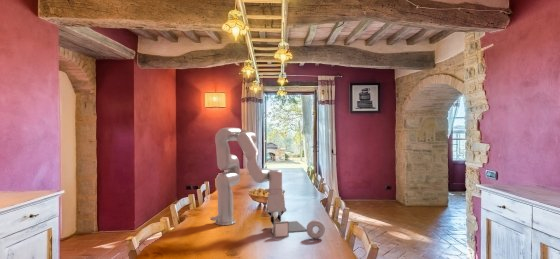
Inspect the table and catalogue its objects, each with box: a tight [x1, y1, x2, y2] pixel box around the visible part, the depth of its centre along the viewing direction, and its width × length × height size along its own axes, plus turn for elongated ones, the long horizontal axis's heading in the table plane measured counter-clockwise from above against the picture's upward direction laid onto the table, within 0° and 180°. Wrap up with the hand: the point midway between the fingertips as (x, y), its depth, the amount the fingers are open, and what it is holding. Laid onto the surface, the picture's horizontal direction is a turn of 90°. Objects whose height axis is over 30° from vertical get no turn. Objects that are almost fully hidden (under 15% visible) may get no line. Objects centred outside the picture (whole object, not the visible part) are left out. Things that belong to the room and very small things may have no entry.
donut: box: [305, 219, 326, 240], centre depth 179 cm, size 10×4×10 cm, turn 91°
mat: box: [288, 220, 307, 233], centre depth 201 cm, size 12×20×1 cm, turn 14°
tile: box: [273, 220, 290, 238], centre depth 183 cm, size 8×2×8 cm, turn 104°
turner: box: [269, 212, 281, 235], centre depth 195 cm, size 8×17×4 cm, turn 15°
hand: (275, 222), depth 195 cm, fingers closed on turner, 3 cm apart
